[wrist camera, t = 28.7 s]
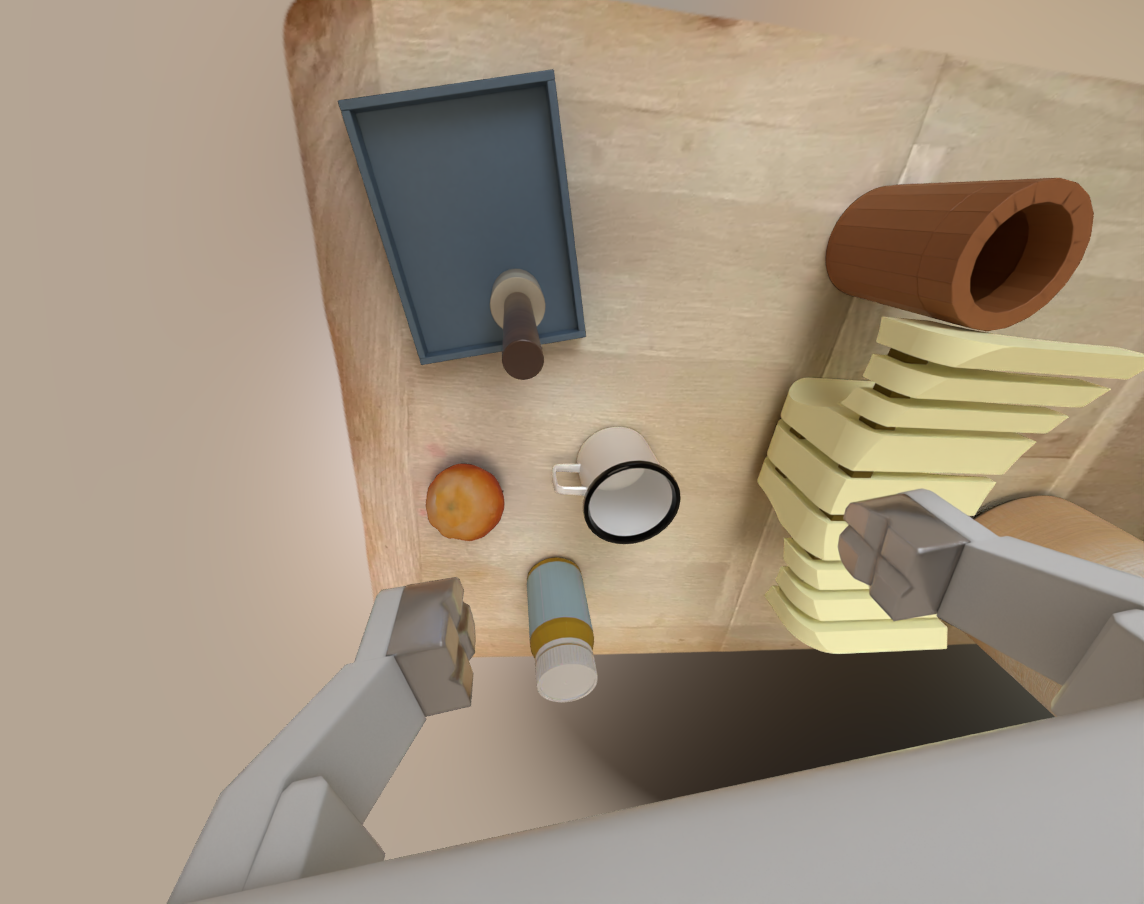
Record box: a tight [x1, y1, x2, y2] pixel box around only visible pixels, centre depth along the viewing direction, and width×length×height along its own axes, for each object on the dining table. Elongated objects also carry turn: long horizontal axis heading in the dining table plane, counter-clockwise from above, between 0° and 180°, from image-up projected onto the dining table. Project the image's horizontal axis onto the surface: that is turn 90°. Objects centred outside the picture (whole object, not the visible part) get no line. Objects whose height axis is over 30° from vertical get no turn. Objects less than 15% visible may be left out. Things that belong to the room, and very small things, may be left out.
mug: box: [552, 427, 680, 544], centre depth 46 cm, size 12×9×9 cm
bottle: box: [527, 557, 598, 702], centre depth 51 cm, size 7×7×15 cm
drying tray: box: [338, 69, 586, 365], centre depth 37 cm, size 19×15×2 cm
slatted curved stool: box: [757, 317, 1144, 654], centre depth 44 cm, size 30×16×18 cm, turn 174°
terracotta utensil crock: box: [826, 178, 1094, 331], centre depth 36 cm, size 9×9×14 cm
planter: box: [963, 496, 1144, 717], centre depth 58 cm, size 22×22×20 cm
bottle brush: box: [490, 269, 545, 380], centre depth 32 cm, size 4×4×19 cm
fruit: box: [426, 464, 504, 541], centre depth 47 cm, size 8×8×8 cm
